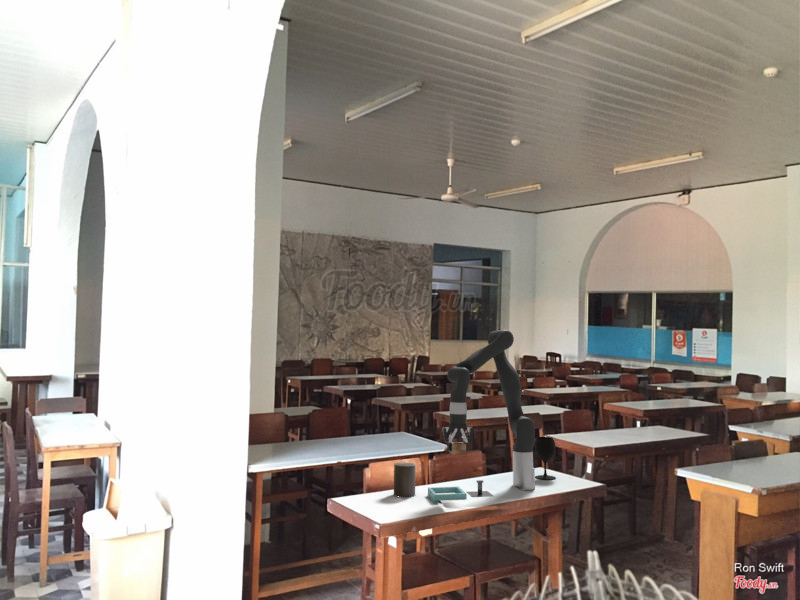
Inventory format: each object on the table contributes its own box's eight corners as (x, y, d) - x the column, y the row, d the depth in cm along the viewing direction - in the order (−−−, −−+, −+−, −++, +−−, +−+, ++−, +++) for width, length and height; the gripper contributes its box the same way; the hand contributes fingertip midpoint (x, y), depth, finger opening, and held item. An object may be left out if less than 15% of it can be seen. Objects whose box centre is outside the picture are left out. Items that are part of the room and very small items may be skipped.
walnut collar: (462, 452, 284) (462, 442, 284) (465, 454, 278) (466, 444, 278) (449, 452, 283) (449, 442, 283) (452, 454, 277) (452, 444, 277)
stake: (487, 494, 287) (487, 477, 287) (494, 499, 277) (494, 482, 277) (466, 495, 285) (465, 478, 285) (472, 500, 275) (472, 483, 276)
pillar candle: (395, 498, 280) (396, 463, 281) (391, 492, 289) (392, 459, 290) (417, 497, 282) (417, 462, 283) (412, 492, 291) (413, 458, 292)
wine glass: (560, 478, 319) (559, 438, 321) (544, 481, 314) (544, 440, 316) (545, 475, 328) (545, 435, 330) (530, 477, 323) (530, 437, 324)
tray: (458, 494, 286) (458, 486, 287) (466, 502, 273) (466, 493, 273) (427, 495, 284) (427, 487, 284) (434, 503, 270) (434, 495, 271)
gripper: (471, 411, 287) (470, 449, 285) (440, 411, 284) (439, 449, 283) (476, 413, 279) (475, 452, 278) (444, 413, 277) (443, 452, 276)
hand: (457, 451), depth 280 cm, fingers closed on walnut collar, 6 cm apart
